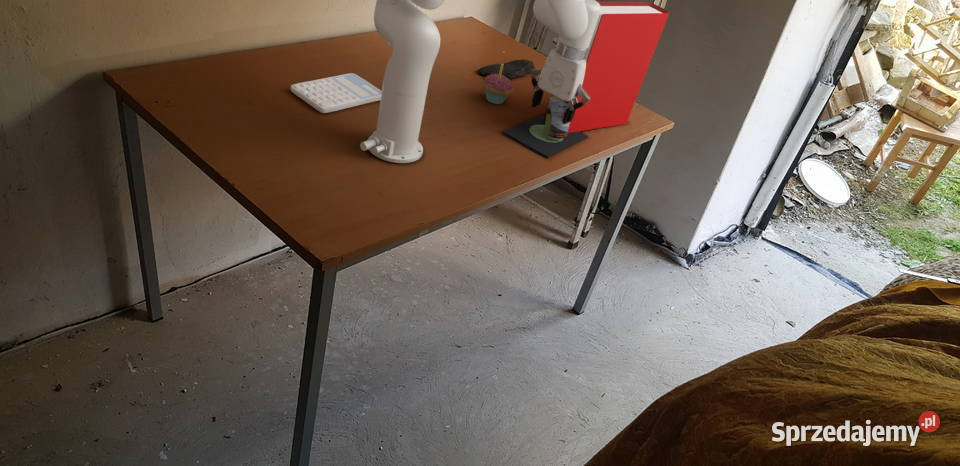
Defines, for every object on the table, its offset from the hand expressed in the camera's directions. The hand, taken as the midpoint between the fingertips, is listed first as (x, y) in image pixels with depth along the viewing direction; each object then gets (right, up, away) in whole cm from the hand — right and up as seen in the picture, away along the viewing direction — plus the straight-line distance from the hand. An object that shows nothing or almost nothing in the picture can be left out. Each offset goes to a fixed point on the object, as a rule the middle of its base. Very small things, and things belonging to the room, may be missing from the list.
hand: (550, 114), depth 178 cm
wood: (-9, +18, +33) cm, 38 cm away
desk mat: (-1, -5, +4) cm, 6 cm away
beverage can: (+1, -5, +3) cm, 6 cm away
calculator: (-53, +4, -3) cm, 53 cm away
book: (+12, +1, +16) cm, 20 cm away
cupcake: (-14, +6, +15) cm, 21 cm away
